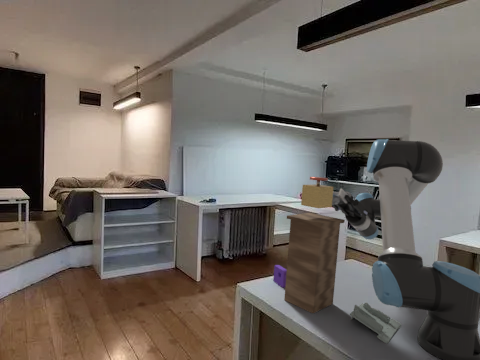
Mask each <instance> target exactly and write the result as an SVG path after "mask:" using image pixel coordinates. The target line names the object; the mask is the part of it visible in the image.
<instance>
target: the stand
mask: <svg viewBox="0 0 480 360" xmlns="http://www.w3.org/2000/svg"><path fill="white" fill-rule="evenodd" d="M286 219H287V220H290V223H289V224H290V226H289V238H288V250H287V262H286V263H287V264H286V270H287V273H286V285H285V287H284V298H283V299H284V301H285V302H288V303H290V304H292V305H294V306H296V307H298V308H301V309H302V310H305V311H307V312H309V313H311V314H314V313H317V312H319V311H321V310H323V309H325V308H327V307H329V306H331V305H333V304H334V296H335V283H336V272H337V262H338V261H337V260H338V251H339V241H340V239H339V238H340V232H341V231H340V230H341V229H340V228H341V224H344V223H345V220H346V219H344V218H343V219H342V218H338V217H333V216H327V215H324V214H319V213H312V212H306V213H298V214H290V215H289V214H288V215H286Z"/></svg>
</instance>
